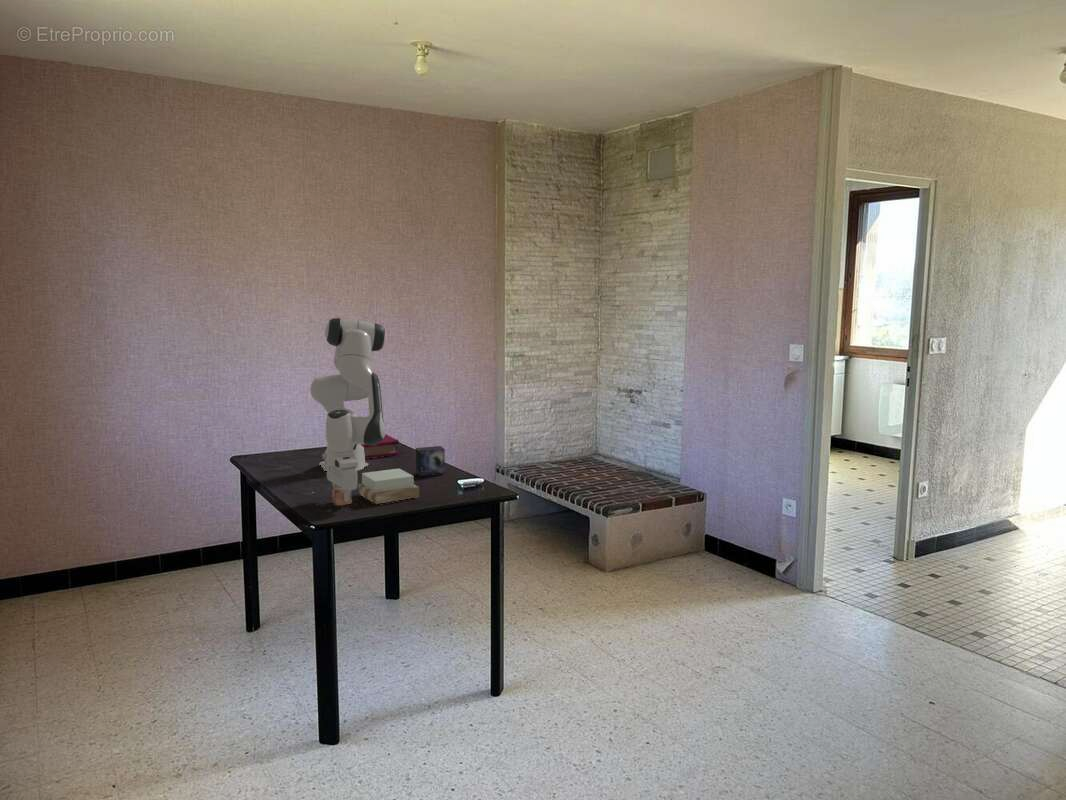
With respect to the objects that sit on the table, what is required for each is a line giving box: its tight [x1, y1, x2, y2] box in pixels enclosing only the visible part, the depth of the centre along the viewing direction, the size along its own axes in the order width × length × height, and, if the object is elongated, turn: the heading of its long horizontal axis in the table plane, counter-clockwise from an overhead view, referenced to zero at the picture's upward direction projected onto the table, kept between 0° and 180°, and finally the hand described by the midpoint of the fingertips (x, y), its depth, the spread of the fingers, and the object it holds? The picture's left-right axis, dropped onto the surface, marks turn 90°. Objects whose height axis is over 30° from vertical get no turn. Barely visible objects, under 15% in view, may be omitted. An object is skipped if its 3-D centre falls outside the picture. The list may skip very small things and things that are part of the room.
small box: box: [415, 445, 446, 477], centre depth 303 cm, size 11×6×10 cm, turn 112°
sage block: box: [361, 468, 415, 493], centre depth 270 cm, size 14×14×4 cm
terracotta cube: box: [331, 487, 353, 506], centre depth 261 cm, size 5×5×5 cm
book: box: [360, 433, 401, 458], centre depth 345 cm, size 21×28×8 cm
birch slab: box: [358, 483, 420, 505], centre depth 270 cm, size 16×16×4 cm
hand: (342, 498), depth 261 cm, fingers open, 7 cm apart
